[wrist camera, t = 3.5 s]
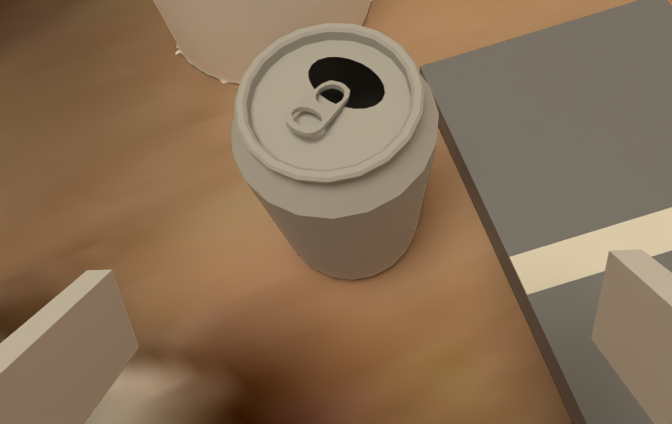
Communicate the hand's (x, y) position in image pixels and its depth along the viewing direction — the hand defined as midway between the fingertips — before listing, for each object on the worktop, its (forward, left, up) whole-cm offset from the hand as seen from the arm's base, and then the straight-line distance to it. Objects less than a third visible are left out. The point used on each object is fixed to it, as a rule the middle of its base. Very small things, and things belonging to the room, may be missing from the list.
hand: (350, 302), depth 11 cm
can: (-7, +1, -12) cm, 13 cm away
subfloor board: (-3, +16, -11) cm, 20 cm away
